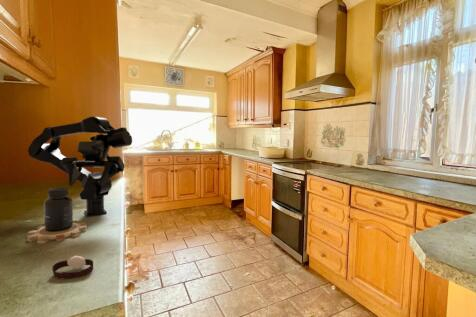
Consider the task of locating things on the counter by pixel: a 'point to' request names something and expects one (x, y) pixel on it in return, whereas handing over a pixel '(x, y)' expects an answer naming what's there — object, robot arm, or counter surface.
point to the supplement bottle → (58, 210)
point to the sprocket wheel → (56, 233)
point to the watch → (74, 263)
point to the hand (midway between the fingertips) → (85, 185)
